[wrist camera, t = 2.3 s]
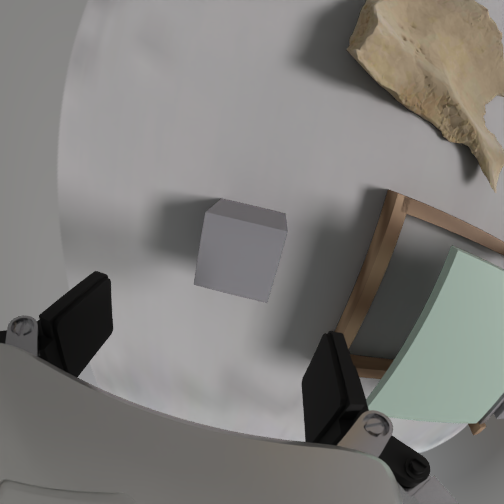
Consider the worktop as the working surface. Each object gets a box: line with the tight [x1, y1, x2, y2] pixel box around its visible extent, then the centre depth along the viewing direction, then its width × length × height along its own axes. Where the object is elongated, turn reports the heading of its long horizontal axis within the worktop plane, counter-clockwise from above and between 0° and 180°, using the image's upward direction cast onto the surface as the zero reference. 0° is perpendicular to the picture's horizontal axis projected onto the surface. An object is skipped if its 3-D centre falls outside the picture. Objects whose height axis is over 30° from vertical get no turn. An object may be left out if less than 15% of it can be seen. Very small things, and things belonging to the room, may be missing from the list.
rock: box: [347, 0, 504, 193], centre depth 12 cm, size 18×15×4 cm
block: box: [194, 198, 288, 303], centre depth 19 cm, size 5×5×5 cm
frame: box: [334, 190, 504, 435], centre depth 17 cm, size 17×23×11 cm
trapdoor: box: [366, 246, 504, 423], centre depth 14 cm, size 14×19×2 cm
